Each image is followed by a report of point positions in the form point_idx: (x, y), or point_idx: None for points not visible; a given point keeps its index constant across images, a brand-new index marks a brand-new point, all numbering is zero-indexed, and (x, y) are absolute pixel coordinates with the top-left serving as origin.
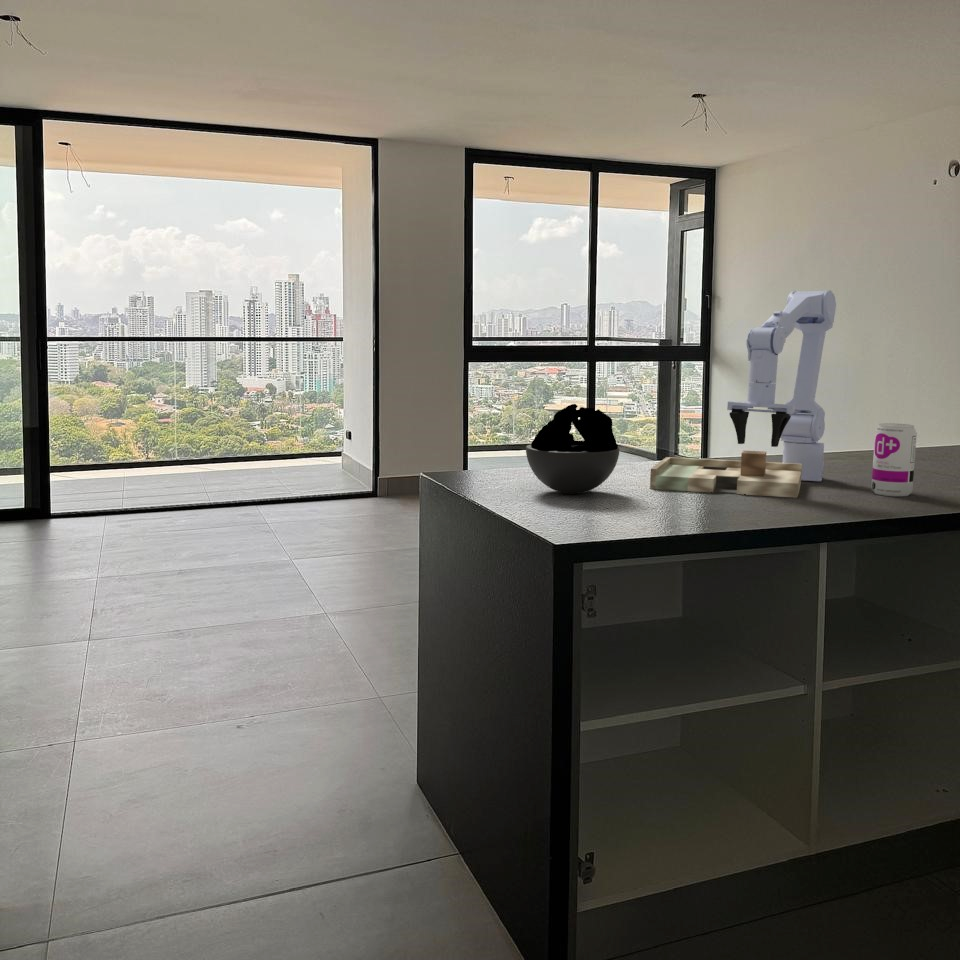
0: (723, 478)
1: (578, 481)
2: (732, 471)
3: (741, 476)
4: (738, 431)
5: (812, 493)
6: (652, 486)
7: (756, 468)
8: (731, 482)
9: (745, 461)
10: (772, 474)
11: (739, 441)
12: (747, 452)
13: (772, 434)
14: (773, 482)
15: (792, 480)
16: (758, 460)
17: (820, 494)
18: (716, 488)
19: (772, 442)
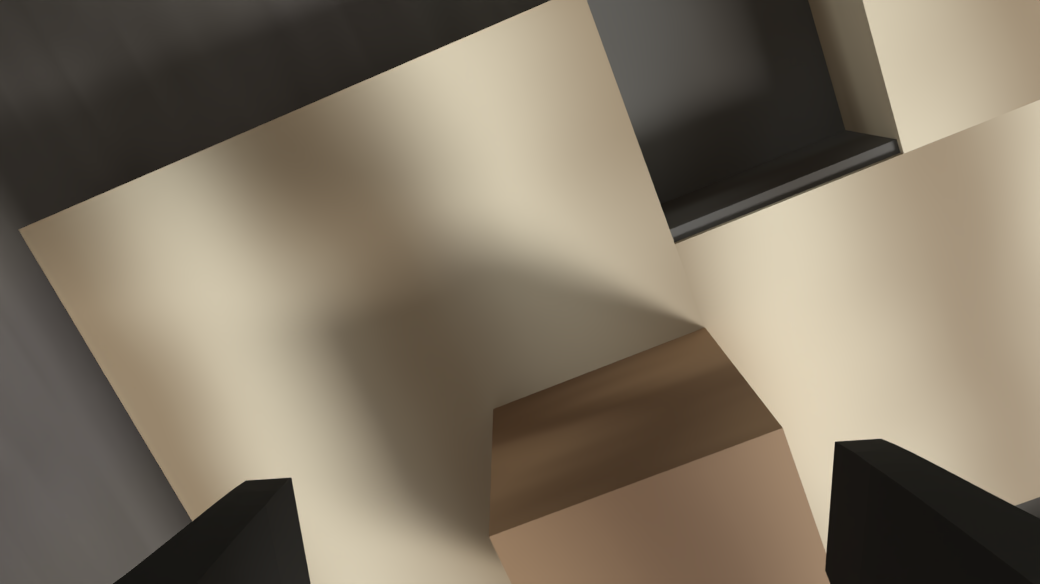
0: (816, 168)
1: None
2: None
3: (665, 269)
4: (1008, 539)
5: (136, 487)
6: None
7: (568, 417)
8: (727, 192)
9: (699, 403)
10: (498, 580)
11: (872, 447)
12: (744, 535)
13: (182, 581)
14: (235, 136)
15: (173, 378)
16: (557, 466)
17: (68, 486)
18: (821, 90)
19: (242, 501)
